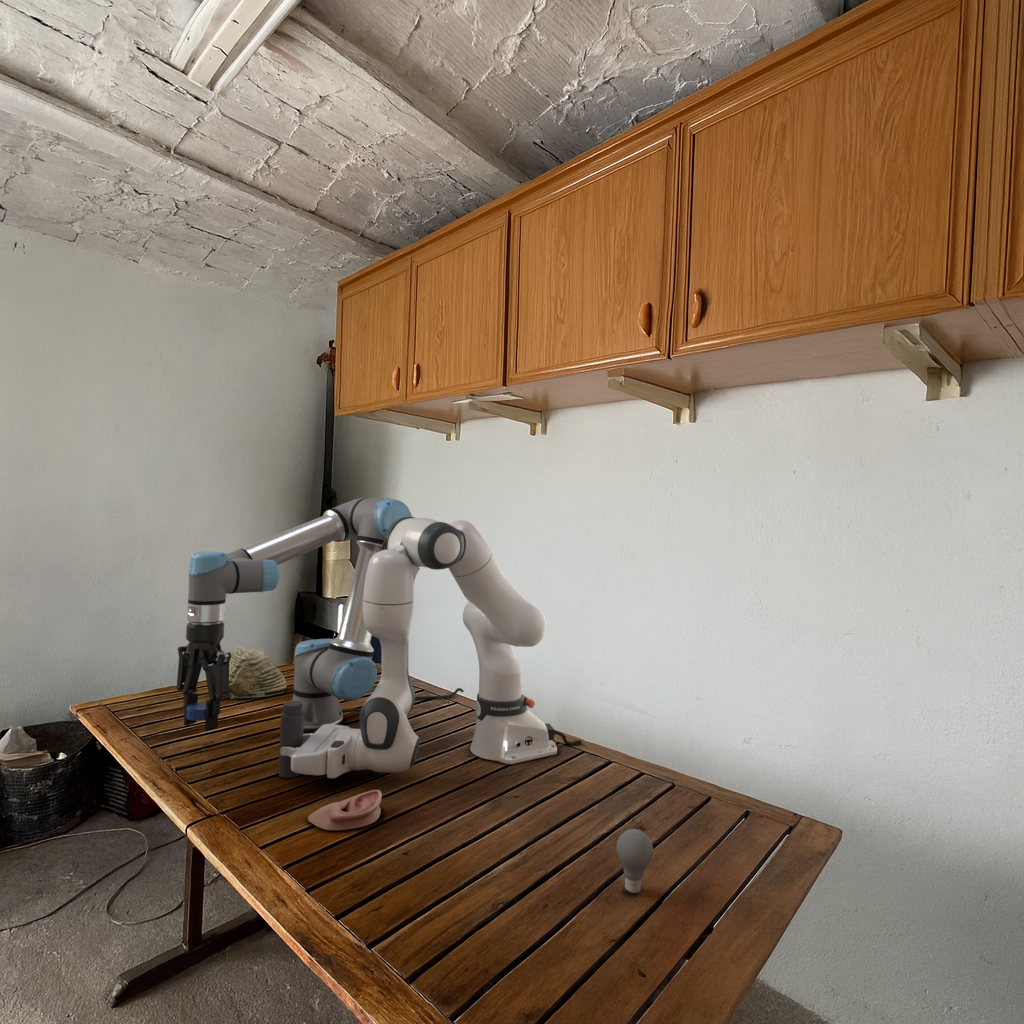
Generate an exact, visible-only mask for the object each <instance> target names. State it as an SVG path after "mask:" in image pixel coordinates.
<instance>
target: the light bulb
mask: <svg viewBox="0 0 1024 1024" xmlns="http://www.w3.org/2000/svg"><path fill="white" fill-rule="evenodd" d="M615 849H616V854H617V857H618V859H619V861H620V863H621V865H622V867H623V873H624V874H623V875H624V876H625V878H624V888H625V890H627V891H628V892H630V893H634V894H635V893H639V892H640V891H641V889H642V887H641V886H642V879H643V877H644V875H645V871H646V868H647V867H648V866H649V864H650V863H651V861H652V859H653V855H654V847H653V843H652V841H651V838H649V836H648V835H647V834H646V833H645V832H643V831H642V830H641V829H636V828H629V829H627V830H625V831H623V832H622V833H621V834H620V835H619V837H618V839H617V841H616V847H615Z"/></svg>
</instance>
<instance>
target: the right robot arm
mask: <svg viewBox="0 0 1024 1024" xmlns="http://www.w3.org/2000/svg"><path fill="white" fill-rule="evenodd" d="M384 547H385V550H384ZM421 568H427V569H429V570H435V571H436V570H438V571H439V570H446V569H448V570H449V572H450V574H451V575H452V577H453V579H454V581H455V582H456V584H457V585H458V587H459V590H460V591H461V593H462V595H463V596H464V598H465V599H466V600H467V602H466V604H465V606H464V608H463V612H462V621H463V625H464V626H465V628H466V629H467V631H468V632H469V634H470V635H471V638H472V641H473V644H474V647H475V650H476V655H477V659H478V660H477V661H478V693H477V694H476V702H475V716H476V719H475V720H476V721H475V726H474V733H473V736H472V741H471V743H470V746H469V751H470V752H471V753H472V754H473V755H474V756H475V757H478V758H481V759H484V760H488V761H489V760H490V761H496V762H499V763H502V764H506V765H514V764H519V763H523V762H528V761H532V760H536V759H541V758H545V757H549V756H555V755H556V754H557V753H558V745H557V744H556V743H555V742H554V741H555V735H557V736H559V737H561V739H562V740H563V741H562V742H563V743H564V744H565V745H567V746H576V745H580V744H582V739H577V740H573V741H569V740H568V739H567V737H566V735H565V733H563V732H561V731H558V730H556V729H555V728H554V727H553V726H552V725H551V724H550V723H544V721H543V720H541V719H540V718H539V717H538V716H537V715H536V714H535V713H533V712H532V711H531V710H529V709H533V708H534V707H535V705H536V703H535V700H533V699H532V698H530V697H528V696H526V695H524V694H523V693H522V691H523V688H522V687H523V672H524V671H523V665H522V662H521V660H520V659H519V658H518V656H517V655H516V654H515V651H514V649H513V647H519V648H530V647H535V646H536V645H538V644H540V643H541V641H542V640H543V639H544V636H545V634H546V631H547V619H546V616H545V614H544V613H543V611H542V610H541V609H540V608H537V606H535V605H533V604H532V603H531V602H530V601H529V600H527V599H526V597H524V596H523V594H521V592H519V590H518V589H517V588H516V587H515V586H514V585H513V584H512V583H511V581H510V580H509V579H508V578H507V577H506V575H505V573H504V572H503V570H502V568H501V567H500V565H499V563H498V561H497V560H496V558H495V556H494V553H493V552H492V550H491V547H489V545H488V544H487V541H486V540H485V539H484V537H483V536H482V534H481V533H480V532H479V530H478V529H477V528H476V527H475V526H474V525H473V524H472V523H471V522H470V521H467V520H464V519H463V520H462V519H460V520H459V519H458V520H454V521H451V522H449V523H448V522H445V521H444V522H443V521H439V520H436V519H432V518H428V517H415V516H412V517H404V518H400V519H398V520H396V521H394V522H393V523H392V524H391V526H390V527H389V529H388V531H387V533H386V536H385V541H384V542H383V544H382V551H379V552H377V553H375V554H374V555H373V556H372V557H371V558H370V561H369V564H368V568H367V572H366V578H365V584H364V594H363V617H364V624H365V628H366V629H367V631H368V632H369V633H370V634H371V635H372V637H374V638H376V639H378V641H379V643H380V648H381V649H380V652H381V655H380V656H381V658H380V661H381V662H380V665H381V668H380V669H381V670H380V671H381V672H380V673H381V675H380V679H379V681H378V683H377V685H376V686H375V688H374V690H373V692H372V693H371V695H369V697H368V698H367V699H366V701H364V703H363V704H362V706H361V708H360V709H361V711H360V712H359V728H352V727H350V726H348V725H342V724H340V725H335V724H324V725H322V726H321V727H320V728H319V729H318V730H317V731H316V732H308V733H303V745H302V746H301V747H296V748H292V747H291V745H284V746H283V747H282V748H281V749H280V748H279V753H280V754H281V755H283V756H289V757H291V770H292V771H293V772H295V773H299V774H300V775H309V776H324V775H326V778H328V779H336V778H338V777H339V776H342V775H343V774H345V773H348V772H351V771H357V772H358V771H364V770H369V771H372V772H375V773H387V774H388V773H392V774H393V773H394V774H395V773H403V772H404V773H405V772H408V771H410V769H412V767H413V766H414V764H415V763H416V760H417V756H418V755H419V754H418V753H419V749H420V742H421V741H420V737H419V736H418V735H417V734H416V733H415V731H414V730H413V728H412V726H411V724H410V721H409V719H408V715H409V714H410V713H411V712H412V711H413V708H414V707H415V704H416V699H415V697H416V692H415V689H414V686H413V684H412V681H411V679H410V674H409V673H410V672H409V637H410V631H411V625H412V621H413V612H414V603H415V601H414V600H415V599H414V598H415V597H414V596H415V580H416V577H417V575H418V573H419V571H420V569H421ZM528 708H529V709H528Z"/></svg>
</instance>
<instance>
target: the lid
mask: <svg viewBox="0 0 1024 1024" xmlns="http://www.w3.org/2000/svg"><path fill="white" fill-rule="evenodd" d="M186 718H187V719H188V720H192V721H197V722H201V721H205V718H206V701H198V702H196V703H192V704H190V705H188V706H187V710H186Z"/></svg>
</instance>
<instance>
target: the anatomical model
mask: <svg viewBox="0 0 1024 1024" xmlns="http://www.w3.org/2000/svg"><path fill="white" fill-rule="evenodd" d="M382 799H383V795H382V791H381V790H380V789H372V790H368V791H365V792H362V793H358V794H355V795H353V796H351V797H349V798H346V799H343V800H341V801H336V802H331V803H327V804H325V805H323V806H321V807H319V808H318V809H316V810H315V811H313V812H311V813H310V814H309V815H308V817H307V821H308V822H309V823H311V824H313V825H314V826H316V827H317V828H320V829H322V830H325V831H344V830H345V831H347V830H352V829H353V830H354V829H359V828H362V827H365V826H368V825H371V824H373V823H375V822H376V821H378V820H379V818H380V815H381V807H380V805H381V802H382Z"/></svg>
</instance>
